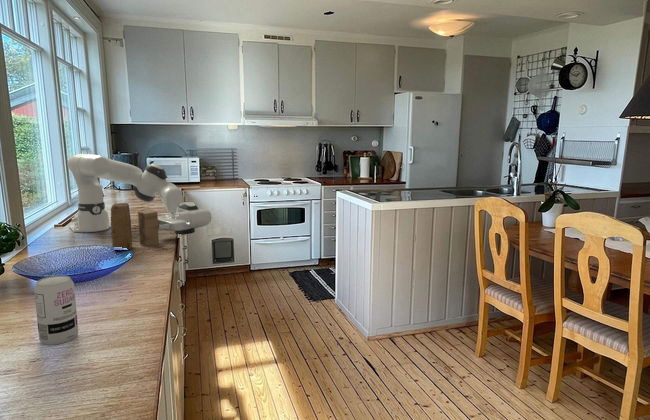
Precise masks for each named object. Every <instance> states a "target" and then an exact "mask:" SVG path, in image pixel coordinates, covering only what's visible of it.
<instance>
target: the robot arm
mask: <svg viewBox="0 0 650 420" xmlns="http://www.w3.org/2000/svg"><path fill="white" fill-rule="evenodd" d="M67 168H68V169H69V171H70V173H72V176H73V179H74V181H75V184H76V186H77V192H78V196H77V197H78V204H77V210H78V211H77V212H76V213H75V214H74V216H73V217H72V218H71V222H72V223H74V224H70V225H69V228H70V229H71V231H72V232H73V233H93V232H103V231H106V230H108V229H111V223H110V219H109V218H110V217H109V213H108V211H107V210H106V203H105V201H104V190H103V186H102V185H101V183H100V182H99V180H98V178H99V179H103V180H106V181H107V180H108V181H111V182H117V183H121V184H129V185H132V186H134V187H133V188H132V190H133V191H134V195H135V196H136V198H137V199H139V201H141V202H147V203H151V202H152V201H153V200H154V199H155V198H156V195H157V194H158V195H159V198H160V199H161V201H162V203H163V205H164V206H165V208H166V210H167V214H162V215H158V230H170V231H174V233H175V234H177V235H190V234H195V232H196V230H195V229H197V228H198V229H199V228H202V227H206V226H209V225H210V224H211V222H212V221H211V220H212V214H211V211H210V210H208V209H202V208H199V207H198V206H197V204H195V202H192V201H186V200H185V201H184V195H183V193H182V191H181V189H180V188H179V187H178V185H176V184H174V183H172V182H170V181H167V180H166V179H168V176H167V174H166V171H165V168H163V167H162V166H161V165H159V164H156V163H148V164H147V165H146V167H145V168H144V171H143V170H142V169H141V168H139V167H138V166H135V165H133V164H130V163H126V162H124V161H123V162H122V161H118V160H115V159H111V158H109V157H106V156H102V155H99V154H91V153H90V154H88V153H78V154H73V155H72V156H71V155H70V157H69V158H68V160H67Z"/></svg>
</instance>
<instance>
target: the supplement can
mask: <svg viewBox="0 0 650 420" xmlns="http://www.w3.org/2000/svg"><path fill="white" fill-rule="evenodd" d="M33 291H34V300H35V301H34V304H35V311H36V321H37V329H38V330H37V331H38V339H39V340H38V341H39V342H41V343H42V344H44V345H45V346H46V345H47V346H55V345H61V344H64V343H68V342H70V341H72V340H73V339H75V337H76V336H78V334H79V326H78V325H79V324H78V313H77V303H76V302H77V301H76V289H75V283H74V281H73V279H71V276H68V275H52V276H51V275H50V276H47V277H43V278H41V279H38V280H37V281H36V284H35V286H34V288H33Z"/></svg>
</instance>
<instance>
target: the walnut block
mask: <svg viewBox="0 0 650 420" xmlns="http://www.w3.org/2000/svg"><path fill="white" fill-rule="evenodd" d="M137 214H138V215H137V216H138V233H139V234H138V235H139V244H140V245H142V246H144V247H150V246H155V245H159V244H160V240H159V239H160V238H159V237H160V236H159V229H158V216H159V215H158V211H154V210H152V209H151V210H142V211H138V212H137Z"/></svg>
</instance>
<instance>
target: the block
mask: <svg viewBox="0 0 650 420" xmlns="http://www.w3.org/2000/svg"><path fill="white" fill-rule="evenodd" d="M131 219H132V218H131V212H130V205H129V203H128V202H124V203H123V202H120V203H114V204H112V205H111V208H110V224H111V227H110V232H111V242H112V243H111V245H112V248H113V247H122V248H127V249H130V250H132V248H133V237H132V234H133V233H132V220H131Z"/></svg>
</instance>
